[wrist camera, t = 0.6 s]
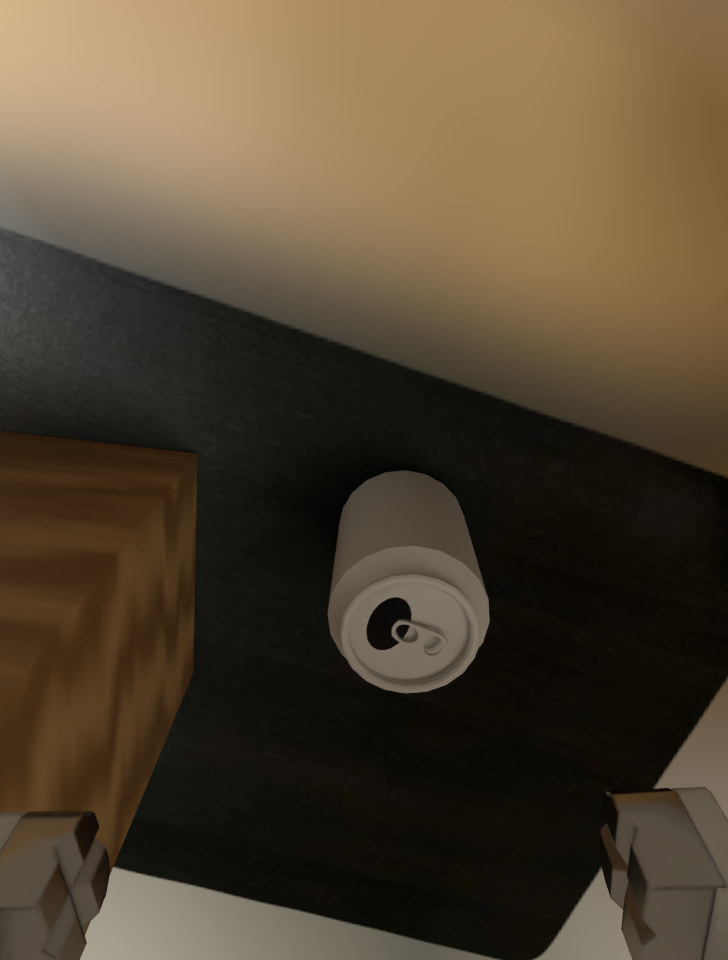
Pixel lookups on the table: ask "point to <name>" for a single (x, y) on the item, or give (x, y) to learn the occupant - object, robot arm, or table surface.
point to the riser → (92, 622)
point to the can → (406, 585)
